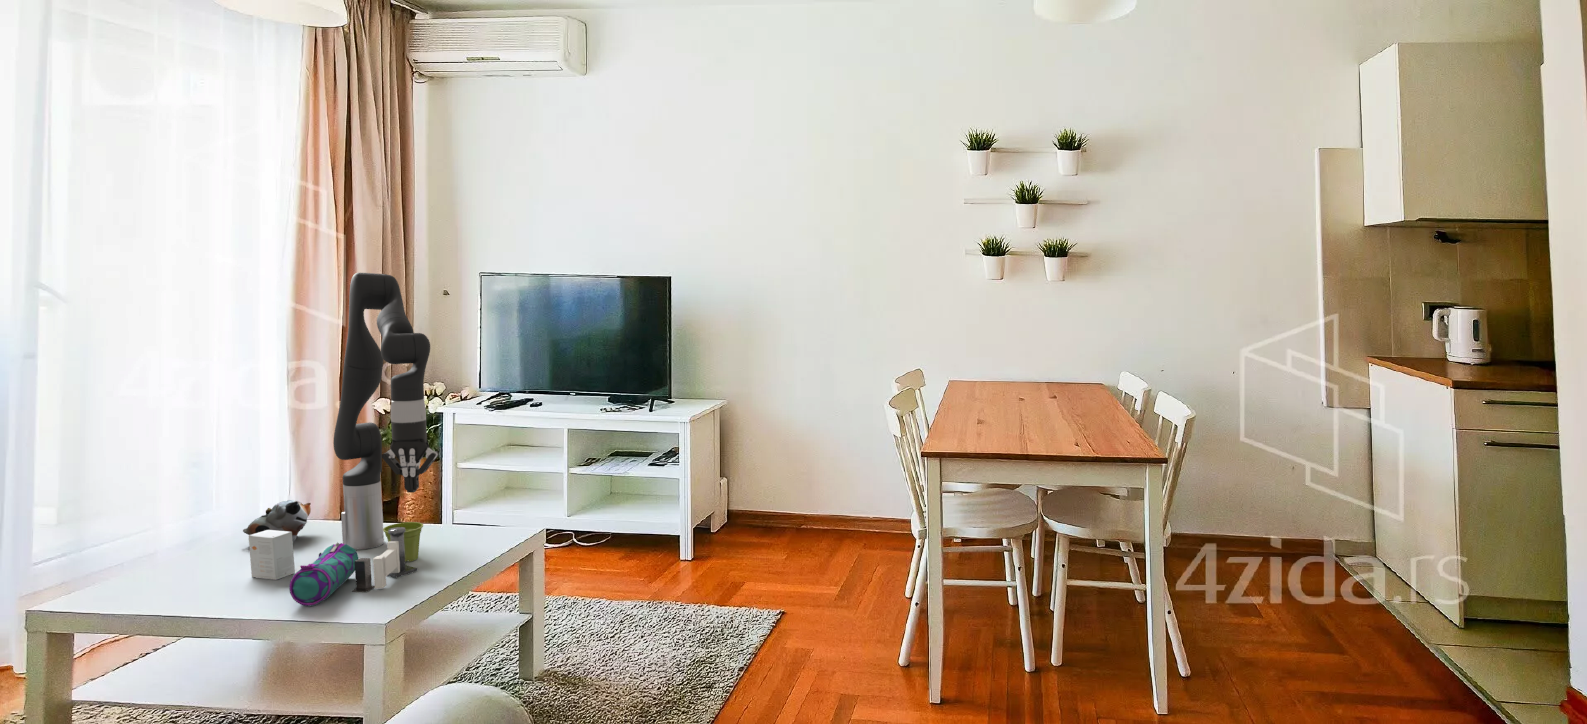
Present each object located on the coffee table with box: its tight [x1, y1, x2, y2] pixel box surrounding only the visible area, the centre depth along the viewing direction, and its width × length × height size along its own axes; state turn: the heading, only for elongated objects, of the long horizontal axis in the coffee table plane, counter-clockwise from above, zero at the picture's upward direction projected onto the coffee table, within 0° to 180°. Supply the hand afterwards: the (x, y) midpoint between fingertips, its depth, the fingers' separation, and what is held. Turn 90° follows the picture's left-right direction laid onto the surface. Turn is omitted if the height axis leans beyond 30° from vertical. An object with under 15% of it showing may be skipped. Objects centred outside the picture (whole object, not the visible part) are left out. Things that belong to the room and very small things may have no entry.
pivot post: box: [386, 527, 419, 579], centre depth 220 cm, size 6×6×11 cm
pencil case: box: [289, 541, 359, 607], centre depth 206 cm, size 21×9×10 cm, turn 10°
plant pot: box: [383, 521, 424, 563], centre depth 230 cm, size 9×9×9 cm
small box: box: [248, 530, 296, 581], centre depth 219 cm, size 8×6×10 cm
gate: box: [372, 541, 400, 590], centre depth 212 cm, size 11×2×8 cm, turn 5°
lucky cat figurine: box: [242, 499, 312, 543], centre depth 250 cm, size 15×12×14 cm
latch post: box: [351, 557, 375, 593], centre depth 208 cm, size 4×4×7 cm
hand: (411, 491), depth 212 cm, fingers closed
